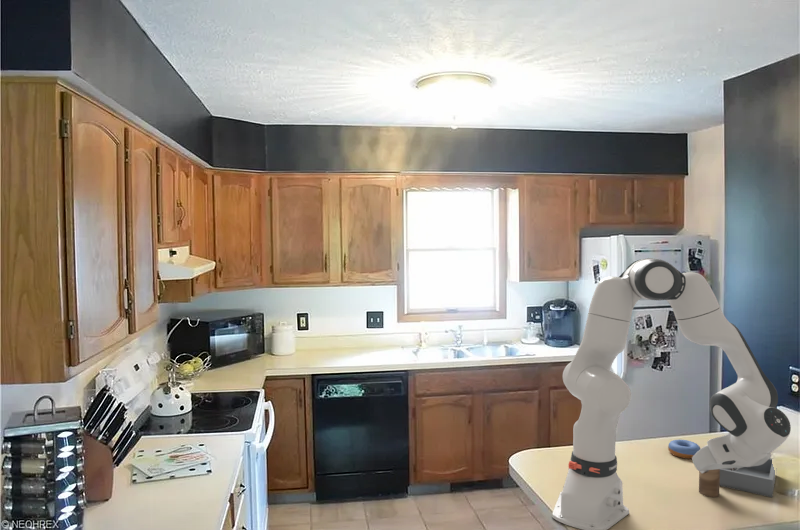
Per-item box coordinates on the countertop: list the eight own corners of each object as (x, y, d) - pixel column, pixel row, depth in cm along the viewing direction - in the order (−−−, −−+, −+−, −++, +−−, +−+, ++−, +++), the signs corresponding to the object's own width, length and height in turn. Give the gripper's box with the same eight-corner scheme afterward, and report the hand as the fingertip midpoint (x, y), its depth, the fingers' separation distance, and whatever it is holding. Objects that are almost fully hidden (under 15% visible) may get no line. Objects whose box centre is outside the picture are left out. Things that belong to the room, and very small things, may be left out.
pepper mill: (717, 498, 163) (718, 460, 162) (697, 494, 166) (698, 456, 165) (720, 492, 167) (721, 454, 166) (700, 487, 170) (701, 450, 170)
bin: (772, 497, 163) (772, 480, 163) (716, 485, 172) (716, 468, 171) (776, 475, 178) (776, 459, 178) (724, 464, 186) (724, 449, 186)
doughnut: (707, 459, 190) (706, 445, 191) (677, 461, 190) (675, 447, 191) (692, 450, 200) (691, 437, 201) (663, 452, 200) (662, 439, 201)
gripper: (771, 434, 157) (744, 455, 167) (703, 439, 153) (679, 461, 164) (784, 456, 152) (755, 477, 163) (714, 462, 149) (689, 483, 160)
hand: (717, 469), depth 163 cm, fingers open, 8 cm apart
